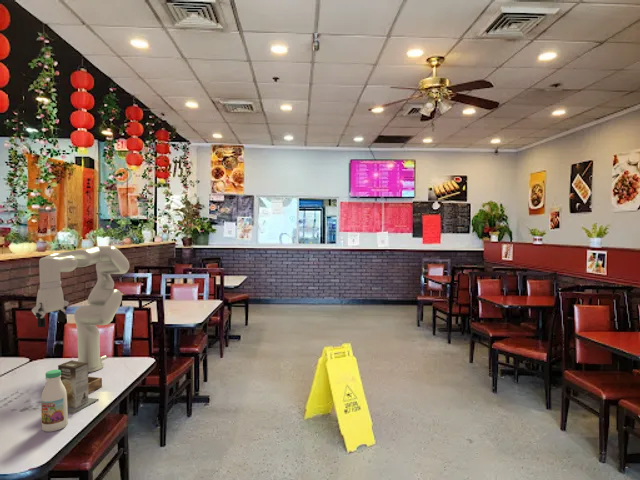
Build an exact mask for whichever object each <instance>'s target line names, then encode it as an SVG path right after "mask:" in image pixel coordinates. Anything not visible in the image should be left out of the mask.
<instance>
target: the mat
mask: <svg viewBox="0 0 640 480" xmlns="http://www.w3.org/2000/svg"><path fill="white" fill-rule="evenodd" d="M88 400H89V401H88V402H87V403H85V404H83V405H81V406H79V407H77V408H72V407H67V411H68V414H73V415H74V414H76V413H78V412H81V410H83V409H85V408H88V407H89V406H91V405H92V404H94V403H96V402H98V401H99V398H95V397H94V398H91V397H88Z"/></svg>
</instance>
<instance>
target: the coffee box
mask: <svg viewBox="0 0 640 480" xmlns="http://www.w3.org/2000/svg"><path fill="white" fill-rule="evenodd" d="M57 370H61V377H60V378H61V381H62V383H63V385H64V387H65V389H66V393H67V407H72V408H77V407H79V406H81V405H83V404H85V403H87V402H88V401H89V400H88V398H89V394H88V377H89V372H88V363H85V362H79V361H78V360H72V359H71V360H69V361H66V362H63V363H61V364H58V365H57Z"/></svg>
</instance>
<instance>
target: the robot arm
mask: <svg viewBox="0 0 640 480" xmlns="http://www.w3.org/2000/svg"><path fill="white" fill-rule="evenodd" d="M38 263H39V265H38V267H39V289H38V291H37V295H36V304H35V306H33V308H32V309H31V312H32V313H33V316H35V318H36V319H37V327H38V328H45V327H46V317H45V316H46V314H48V313H53V312H57V322H59V323H65V321H66V320H65V319H66V318H65V317H66V316H65V314H66V311H67V310H68V307H69V305H70V302H69V301H67V300H66V299H64V292H63V288H62V286H61V285H62V283H63V281H61V273H70V272H72V271H74V270H75V269H77V268H85V267H89V266H91V265H95V270H96V275H97V277H96V278H97V281H96V284H95V285H94V286H93V288H92V290H91V292H90V293H89V295H88V298H87V303H88V305H86V304H85V305H82V306H79V307H77V308H76V310H75V311H74V314H73V315H74V321H75V326H76V335H77V359H78V360H77V361H79V362H85V363H88V373H93V372H96V371H99V370H101V369H104V367H105V364H104V363H103V361H104V360H107V359H108V357H107V355H103V356H101V349H100V348H101V345H100V343H101V342H100V330H99V328H98V326H106V325H109V324H111V322H112V321H113V319H114V317H115V315H116V313H117V312H118V309H119V308H120V306H121V304H122V301H123V300H122V299H123V295H122V292H121V291H120V290H119V289H116V288H114V287H115V281H114V279H113V277H112V276H111V275H124V274H126V273H128V271H129V269H130V262H129V260H128V258H127V257H126V256H125V255H124V254H123V252H121V250H120V249H118V248H117V247H116V246H114V245H95V246H92V247H91V246H90V247H88V248H87V247H86V248H83V249H76V250H70V251H64V252H63V251H62V252H56V253H52V254H48V255H46V256H45V257H41V258H40V259H39V262H38Z"/></svg>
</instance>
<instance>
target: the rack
mask: <svg viewBox="0 0 640 480" xmlns="http://www.w3.org/2000/svg"><path fill="white" fill-rule="evenodd" d="M102 379H103V378H102V377H99V376H98V377H96V376H88V395H89V394H90V393H92V392H93V393H94V392H95V391H96V390H99V389H102V387H103V380H102Z"/></svg>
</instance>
